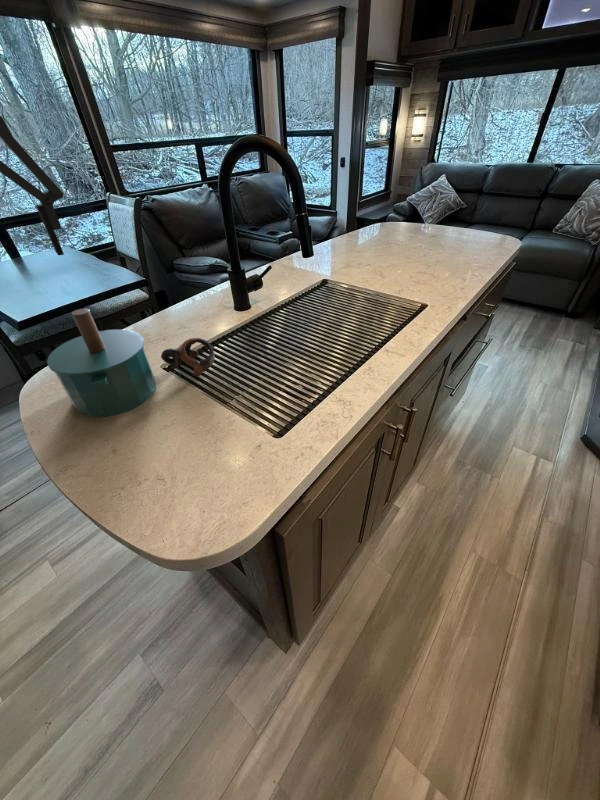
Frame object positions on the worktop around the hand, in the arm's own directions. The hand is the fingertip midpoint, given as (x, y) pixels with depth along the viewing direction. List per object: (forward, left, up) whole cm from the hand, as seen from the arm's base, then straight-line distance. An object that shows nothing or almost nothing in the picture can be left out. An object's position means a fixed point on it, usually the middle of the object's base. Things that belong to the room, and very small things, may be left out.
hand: (7, 261), depth 48 cm
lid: (+5, +7, -20) cm, 22 cm away
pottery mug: (+22, +10, -31) cm, 39 cm away
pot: (+5, +7, -30) cm, 32 cm away
